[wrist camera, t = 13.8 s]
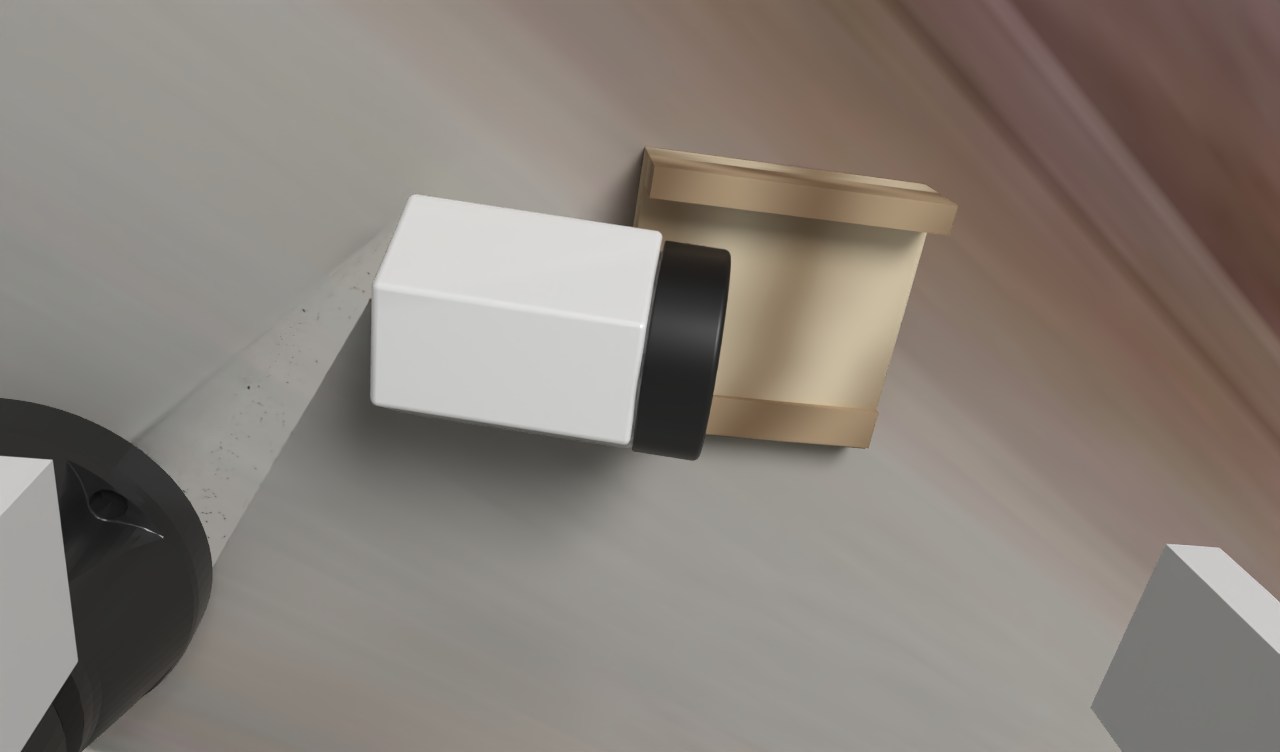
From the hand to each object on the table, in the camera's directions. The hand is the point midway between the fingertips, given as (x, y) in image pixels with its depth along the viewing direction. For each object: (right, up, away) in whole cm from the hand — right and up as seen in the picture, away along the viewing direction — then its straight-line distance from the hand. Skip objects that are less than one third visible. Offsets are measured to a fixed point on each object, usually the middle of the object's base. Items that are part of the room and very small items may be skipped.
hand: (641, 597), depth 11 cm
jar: (-9, +5, +24) cm, 26 cm away
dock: (+5, +6, +30) cm, 31 cm away
